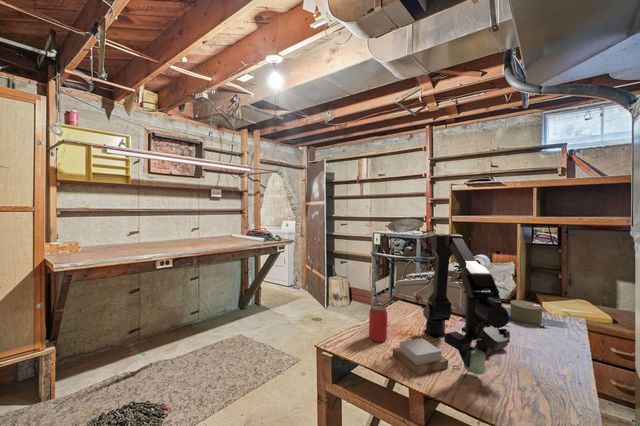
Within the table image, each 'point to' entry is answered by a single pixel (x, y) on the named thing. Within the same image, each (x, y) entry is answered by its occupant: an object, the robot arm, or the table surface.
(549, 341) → the table surface
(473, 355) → the green cylinder
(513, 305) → the can
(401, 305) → the table surface
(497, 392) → the table surface
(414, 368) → the walnut base slab
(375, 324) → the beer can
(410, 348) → the grey top slab
